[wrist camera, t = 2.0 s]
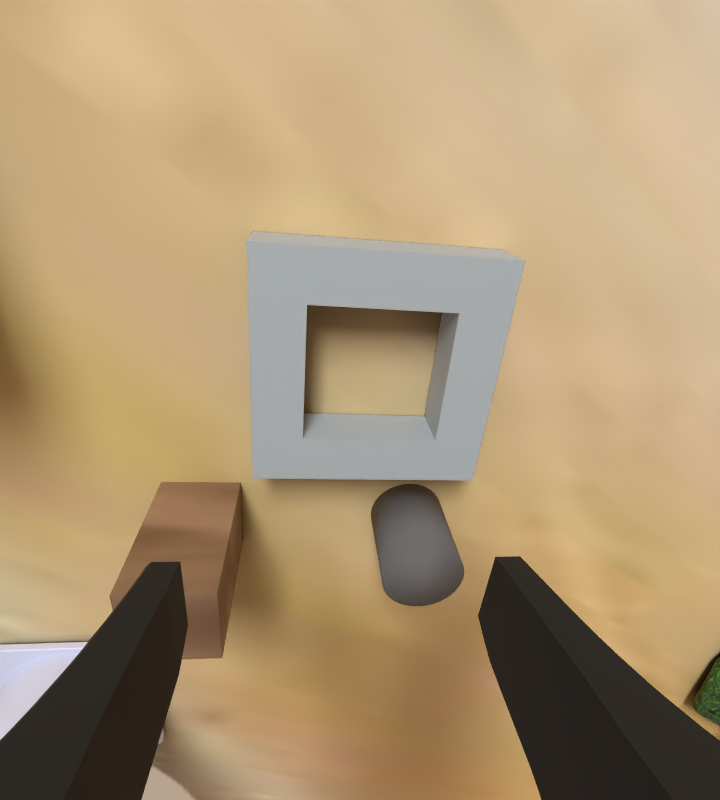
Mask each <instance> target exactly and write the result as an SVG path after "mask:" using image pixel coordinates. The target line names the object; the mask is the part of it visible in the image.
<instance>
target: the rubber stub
mask: <svg viewBox="0 0 720 800" xmlns="http://www.w3.org/2000/svg"><path fill="white" fill-rule="evenodd" d="M371 519H372V525H373V531H374V537H375V543H376V549H377V554H378V560H379V566H380V572H381V578H382V584H383V588H384V591H385V592H386V594H387V595H388V596H389V597H390V598H391V599H392V600H394V601H396V602H398V603H400V604H403V605H408V606H425V605H430V604H434V603H436V602H439V601H441V600H443V599H445V598H447V597H448V596H450V595H451V594H452V593H453V592H455V590H456V589H457V588H458V587H459V585H460V584H461V582H462V580H463V576H464V567H463V564H462V561H461V559H460V556H459V553H458V551H457V548H456V545H455V543H454V540H453V537H452V535H451V532H450V529H449V526H448V524H447V521H446V518H445V516H444V513H443V510H442V508H441V505H440V502H439V500H438V498H437V496H436V495H435V494H434V493H433V492H432V491H431V490H430V489H428V488H426V487H424V486H421V485H416V484H404V485H399V486H396V487H393V488H391V489H389V490H387V491H385V492H384V493H383V494H381V495H380V496H379V497H378V498H377V500H376V501H375V503H374V505H373V507H372V511H371Z"/></svg>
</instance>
